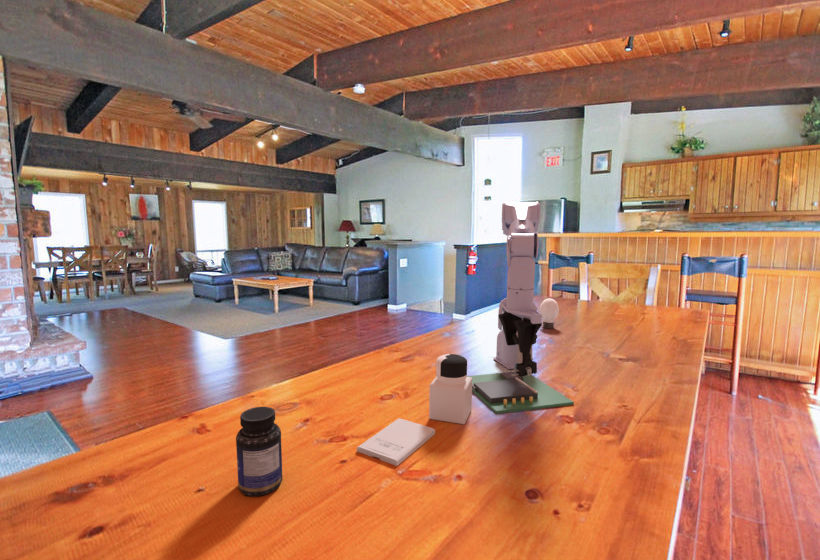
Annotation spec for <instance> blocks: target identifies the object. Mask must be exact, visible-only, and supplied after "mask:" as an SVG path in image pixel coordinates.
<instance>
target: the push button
mask: <svg viewBox="0 0 820 560" xmlns="http://www.w3.org/2000/svg"><path fill="white" fill-rule="evenodd" d="M513 338H514V343H516V344H517V346H518V361H517V363H515V369H511V370H510V372H515V373H514V374H512V375H511V376H516V375H517V376H519V377H523V376H526V375H528V376H529V375H533V374H535V375H536V374H538V363H537V362H536V361H534V358H533V345H534V344H536V343H537V339H538V335H537V334H536V335H535V338H534V340H533V343H532V346H531V350H530V352H528V353H521V352H520V350H519V339H518V332H517V331H516V333H515V334H513Z"/></svg>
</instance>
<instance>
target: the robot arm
mask: <svg viewBox="0 0 820 560" xmlns="http://www.w3.org/2000/svg"><path fill="white" fill-rule="evenodd" d="M540 219H541V204H540V201H509V202H508V201H503V203H502V205H501V230H502V234H503V235H505V236H507V237H506V260H507V261H506V262H507V263H506V265H507V268H508V269H507V280H506V281H507V284H506V297H504V298H503V299H501V301H500V302H499V303H498V305H499V306H498V314H497V316H498V317H497V321H498V322H497V329H498V330H499V332H498V333H497V335H496V336H497V337H496V352H495V353H496V356H493V357H492V358H493V359H494V360H495V361H496V362H498V363H499V364H501V366H503V367H505V368H506V369H508V370H514V369H515V363H517V361H518V346H517V344H516V343H514V338H513V334H515V333H516V331H517V332H518V339H519V350H520V352H521V353H528V352H530V350H531V346H532V347H533V345H532V343H533V340H534V338H535V335H537V333H538V332H539V330H540V328H541V327H543V318H542V314H540V312H538V307H536V304H535V302H534V296H535V274H536V273H535V272H536V270H535V269H536V260H537V258H538V255H539V236H538V230H539V224H540V222H541V220H540Z"/></svg>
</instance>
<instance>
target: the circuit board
mask: <svg viewBox="0 0 820 560" xmlns="http://www.w3.org/2000/svg"><path fill="white" fill-rule="evenodd" d="M514 373H515V372H511V371H507V372H496V373H488V374H487V373H486V374H475V375H467V377H472V393H474V395H475V396H477V397H478V398H479V399H480V400H481V401H482V402H483V403H484V404H485V405H486V406H487V407H488V408H489V409H491V410H492V411H493V412H494V413H495V414H496V415H498V414H505V413H506V414H507V413H514V412H521V411H522V412H525V411H531V410H539V409H548V408H556V407H565V406H573V405H575V404H574V403H575V401H573V400H572V399H570V398H568V397H567V396H565V395H564V394H562V393H561V392H559V391H557V390H556V389H555V388H553V387H552V386H550V385H548V384H546V383H545V382H543V381H542V380H540V379H539V378H538V377H536V376H534V375H533V374H531V375H529V376H528V375H526V376H523V377H519V376H517V375H516V376H511V375H512V374H514ZM516 377H517V378H519V379H520V380H522V381H523V382H524V383H526V384H527V385H529V386H530V387H532V388H533V389H535V390H536V391H537V392H538V399H533V397H532V396H530V397H529V400H524V397H521V400H520V401H516V399H515V398H513V399H512V401H511V402H507V399H504V402H502V403H493V404H491V403H490V402H489V401H487V400H486V399H485V398H484V397H483V396H482V395H481V394H480V393H479V392H478V391H477V387H475V386H474V383H478V382H488V381H498V380H508V379H515V378H516Z"/></svg>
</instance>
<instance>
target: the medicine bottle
mask: <svg viewBox="0 0 820 560" xmlns="http://www.w3.org/2000/svg"><path fill="white" fill-rule="evenodd" d="M435 365H436V367H435V369H436V373H435V377H434V378H433V380H432V381H431V383H430V384H429V393H428V394H429V396H428V397H429V399H428V400H429V401H428V402H429V405H428V407H429V408H428V414H429V415H428V418H429V419H430V420H434V421H438V422H439V421H440V422H447V423H451V424H452V423H453V424H459V425H465V424H466V422H467V420H468V417H469V416H470V413H471V411H472V407H473V406H472V404H473V403H472V401H473V400H472V399H473V391H472V377H467V376H468V359H466V357H464V356H463V355H460V354H456V353H447V354H442V355H440V356H438V357H437V358H436V364H435Z"/></svg>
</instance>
